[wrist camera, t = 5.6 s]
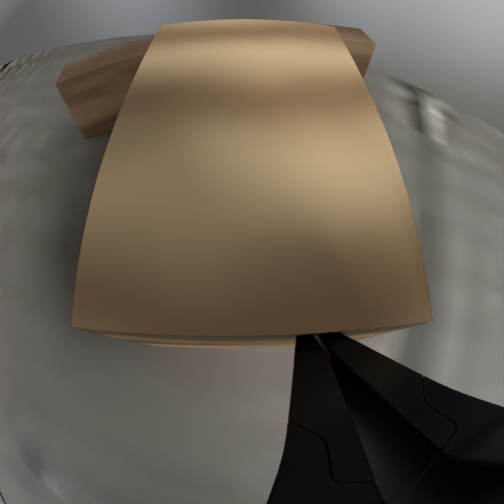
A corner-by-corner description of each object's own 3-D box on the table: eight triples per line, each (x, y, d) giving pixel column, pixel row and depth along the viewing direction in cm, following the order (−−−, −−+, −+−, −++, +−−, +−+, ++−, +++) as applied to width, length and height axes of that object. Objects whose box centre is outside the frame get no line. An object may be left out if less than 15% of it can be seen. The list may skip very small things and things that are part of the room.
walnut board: (355, 100, 21) (375, 44, 15) (85, 138, 19) (55, 84, 13) (344, 82, 22) (360, 28, 16) (90, 118, 20) (64, 65, 14)
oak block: (344, 342, 14) (432, 320, 7) (153, 345, 14) (71, 327, 7) (312, 116, 20) (334, 26, 13) (178, 116, 20) (160, 25, 12)
